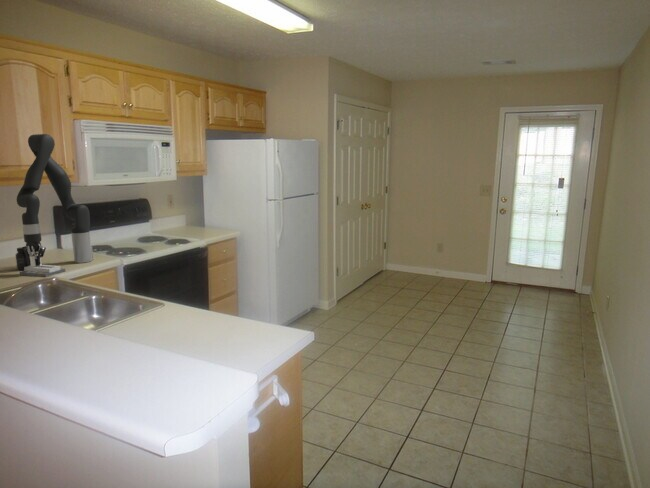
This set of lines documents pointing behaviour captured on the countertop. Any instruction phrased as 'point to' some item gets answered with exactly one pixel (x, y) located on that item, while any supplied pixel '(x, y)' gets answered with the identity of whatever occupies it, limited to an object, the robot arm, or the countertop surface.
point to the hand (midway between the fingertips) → (36, 265)
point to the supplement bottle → (22, 259)
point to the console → (42, 270)
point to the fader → (32, 261)
